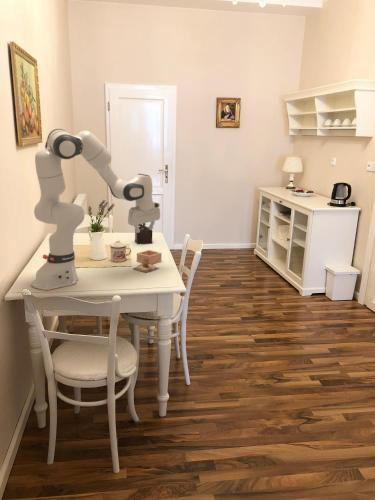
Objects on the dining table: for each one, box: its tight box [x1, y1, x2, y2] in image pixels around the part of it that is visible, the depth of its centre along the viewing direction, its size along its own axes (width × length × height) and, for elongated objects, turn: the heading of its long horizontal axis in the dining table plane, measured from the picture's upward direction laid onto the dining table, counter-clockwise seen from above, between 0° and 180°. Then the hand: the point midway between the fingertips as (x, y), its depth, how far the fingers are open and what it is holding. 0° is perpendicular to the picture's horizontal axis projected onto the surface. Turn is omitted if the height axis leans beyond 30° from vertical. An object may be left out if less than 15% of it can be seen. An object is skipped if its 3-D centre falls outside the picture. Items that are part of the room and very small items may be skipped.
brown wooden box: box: [134, 223, 153, 245], centre depth 270 cm, size 16×11×18 cm
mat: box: [132, 266, 160, 274], centre depth 221 cm, size 10×10×1 cm
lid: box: [136, 259, 156, 272], centre depth 220 cm, size 10×10×5 cm
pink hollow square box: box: [136, 249, 162, 265], centre depth 233 cm, size 10×10×5 cm
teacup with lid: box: [110, 239, 132, 263], centre depth 234 cm, size 12×9×12 cm
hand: (144, 230), depth 215 cm, fingers open, 8 cm apart
